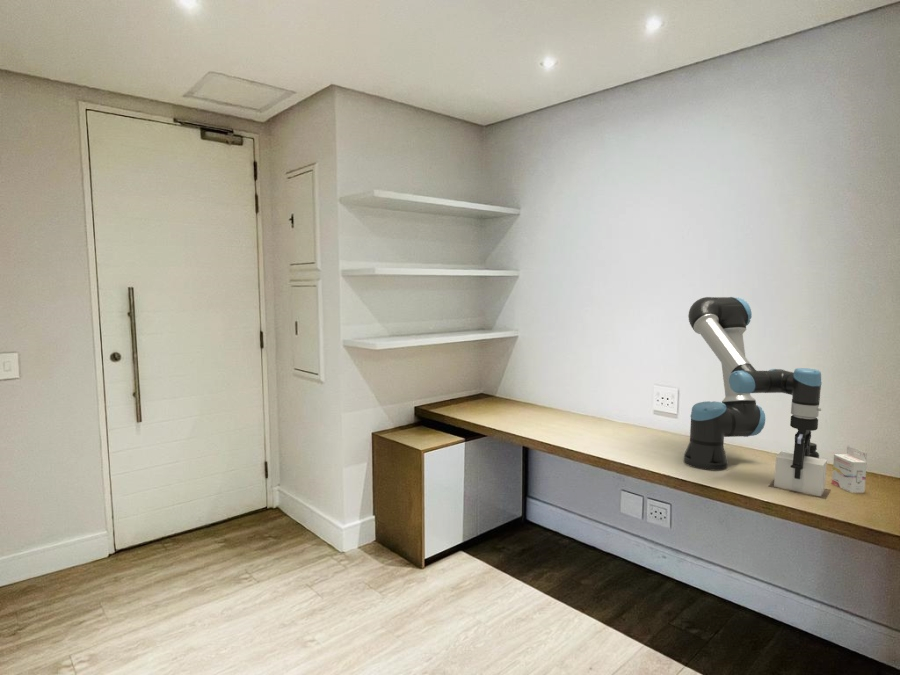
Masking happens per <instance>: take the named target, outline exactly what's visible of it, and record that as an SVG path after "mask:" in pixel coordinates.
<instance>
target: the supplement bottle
mask: <svg viewBox="0 0 900 675" xmlns="http://www.w3.org/2000/svg"><path fill="white" fill-rule="evenodd" d="M817 447H818V445H817V444H816V443H814V442H811V441H810V457H814V458H819V459H820V454H819V452H818V451H817Z"/></svg>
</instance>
